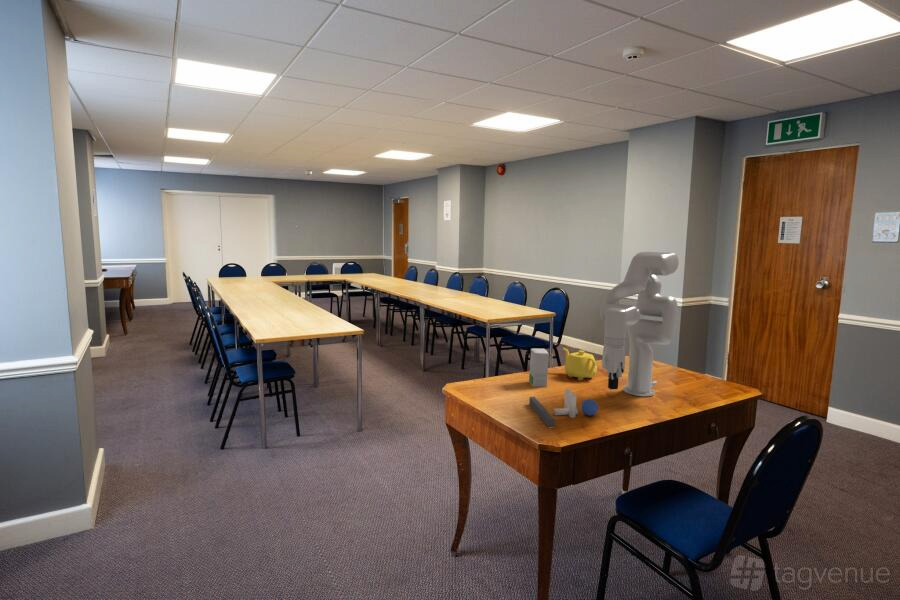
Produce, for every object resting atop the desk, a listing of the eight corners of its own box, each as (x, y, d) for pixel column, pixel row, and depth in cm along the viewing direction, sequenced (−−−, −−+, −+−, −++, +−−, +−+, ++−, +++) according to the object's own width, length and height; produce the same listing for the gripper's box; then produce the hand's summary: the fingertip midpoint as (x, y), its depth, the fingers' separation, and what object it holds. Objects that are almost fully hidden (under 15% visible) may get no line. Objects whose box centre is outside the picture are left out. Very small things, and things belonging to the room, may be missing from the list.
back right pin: (567, 410, 187) (568, 388, 186) (571, 412, 185) (572, 390, 184) (562, 411, 186) (563, 389, 185) (567, 413, 184) (568, 391, 183)
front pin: (575, 408, 185) (553, 409, 184) (577, 407, 183) (555, 408, 182) (576, 415, 184) (554, 415, 183) (578, 413, 182) (556, 414, 181)
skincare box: (528, 381, 223) (530, 348, 221) (543, 381, 224) (544, 348, 222) (533, 387, 215) (534, 352, 213) (548, 387, 216) (549, 352, 214)
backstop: (534, 404, 194) (534, 396, 193) (554, 427, 170) (554, 419, 170) (529, 404, 193) (529, 396, 193) (548, 428, 170) (549, 419, 169)
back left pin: (572, 415, 182) (573, 393, 181) (576, 417, 180) (577, 394, 179) (567, 416, 181) (568, 394, 180) (572, 418, 179) (573, 395, 178)
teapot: (584, 384, 221) (585, 356, 219) (552, 373, 237) (553, 347, 236) (604, 379, 228) (606, 352, 226) (572, 369, 245) (573, 344, 243)
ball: (578, 397, 184) (583, 408, 187) (579, 409, 180) (584, 420, 182) (594, 394, 182) (599, 405, 185) (595, 405, 177) (600, 417, 180)
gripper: (596, 336, 188) (595, 382, 192) (614, 346, 174) (612, 396, 177) (615, 335, 189) (613, 381, 192) (634, 345, 175) (632, 395, 178)
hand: (612, 388), depth 185 cm, fingers closed
